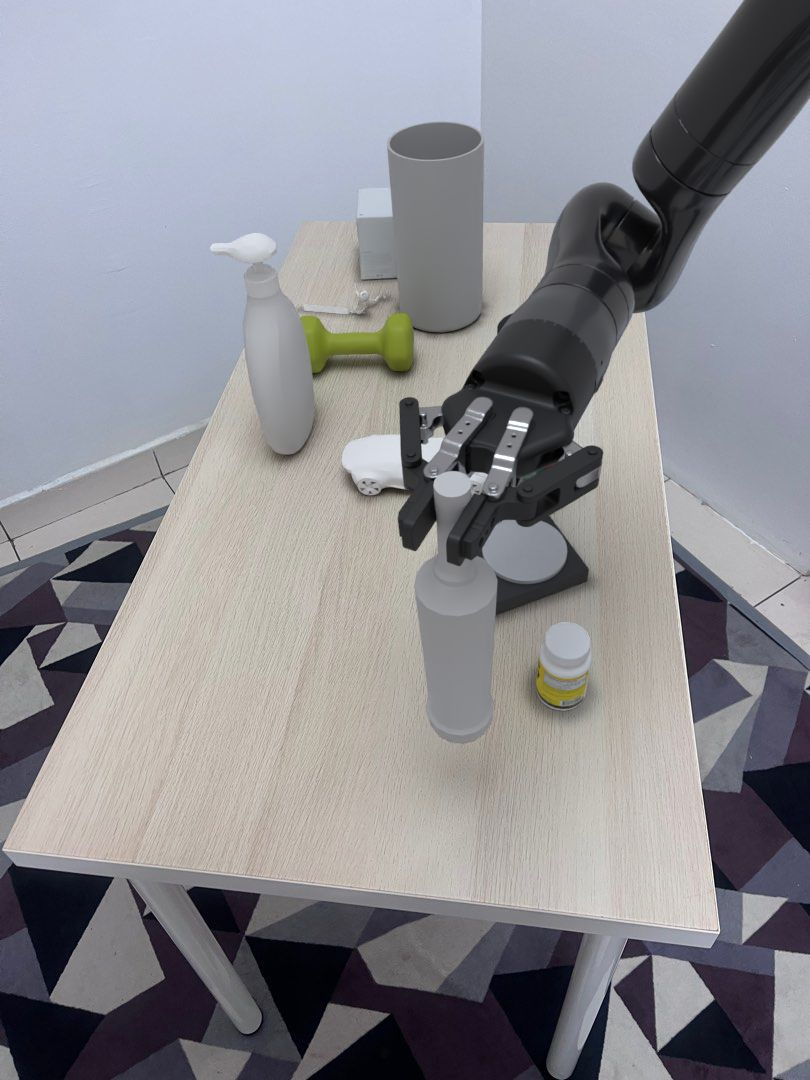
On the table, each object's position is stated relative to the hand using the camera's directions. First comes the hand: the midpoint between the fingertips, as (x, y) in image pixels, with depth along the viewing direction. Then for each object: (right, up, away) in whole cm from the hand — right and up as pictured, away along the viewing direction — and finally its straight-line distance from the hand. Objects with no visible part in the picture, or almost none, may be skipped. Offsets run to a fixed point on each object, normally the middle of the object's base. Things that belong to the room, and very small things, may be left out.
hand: (430, 546), depth 43 cm
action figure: (-11, +36, +81) cm, 89 cm away
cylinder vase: (+4, +35, +78) cm, 86 cm away
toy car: (0, +8, +54) cm, 55 cm away
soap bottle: (-17, +14, +61) cm, 65 cm away
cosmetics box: (-5, +46, +89) cm, 101 cm away
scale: (+11, -3, +44) cm, 45 cm away
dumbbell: (-8, +25, +71) cm, 75 cm away
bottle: (+3, -13, +19) cm, 23 cm away
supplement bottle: (+13, -14, +33) cm, 38 cm away
